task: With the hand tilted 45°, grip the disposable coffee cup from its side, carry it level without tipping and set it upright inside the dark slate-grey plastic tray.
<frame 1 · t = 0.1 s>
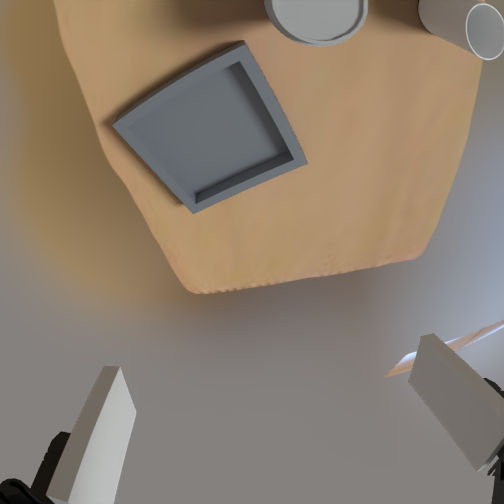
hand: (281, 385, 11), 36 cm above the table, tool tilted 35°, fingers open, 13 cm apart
slate tray: (213, 130, 40), on the table
mug: (448, 16, 24), on the table
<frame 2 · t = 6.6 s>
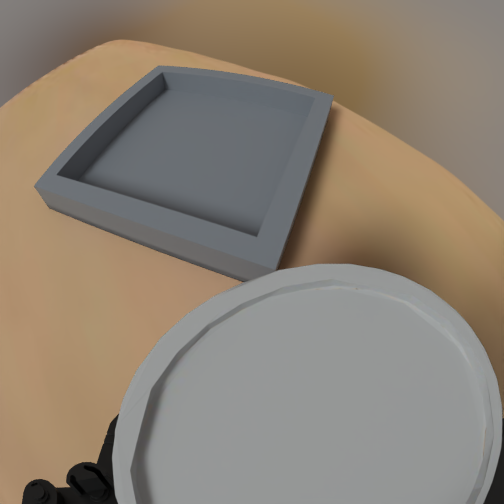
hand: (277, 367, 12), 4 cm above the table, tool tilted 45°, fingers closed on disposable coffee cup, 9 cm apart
disposable coffee cup: (273, 429, 15), on the table, touching gripper
slate tray: (195, 150, 25), on the table
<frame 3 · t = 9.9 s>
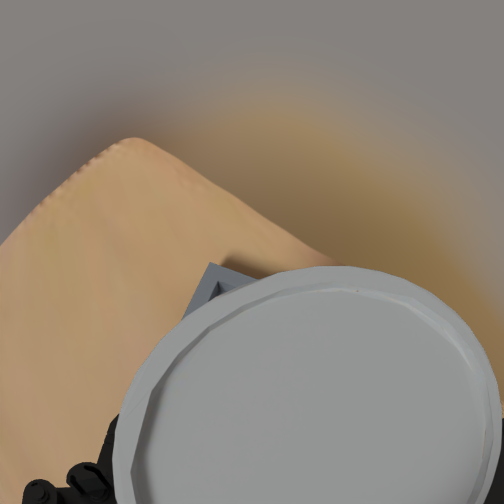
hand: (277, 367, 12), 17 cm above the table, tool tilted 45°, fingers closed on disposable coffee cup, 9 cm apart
disposable coffee cup: (273, 430, 15), point 13 cm above the table, touching gripper
slate tray: (265, 391, 27), on the table
when the fingers open (6 cm above the table, at t = 13.1 s): disposable coffee cup moves 4 cm, point 2 cm above the table.
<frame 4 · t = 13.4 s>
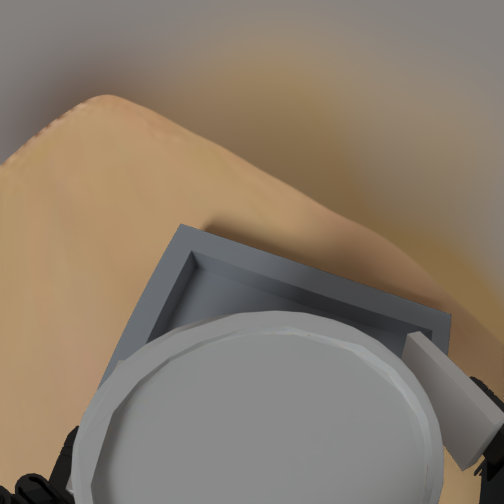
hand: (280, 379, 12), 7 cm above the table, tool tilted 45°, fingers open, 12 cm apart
disposable coffee cup: (218, 456, 14), point 2 cm above the table, touching gripper
slate tray: (269, 425, 16), on the table
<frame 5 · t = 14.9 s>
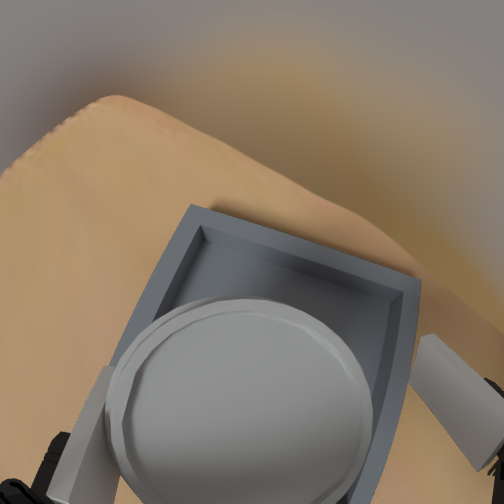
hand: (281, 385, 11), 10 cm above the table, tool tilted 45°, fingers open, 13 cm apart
disposable coffee cup: (212, 402, 18), point 1 cm above the table, touching gripper, slate tray
slate tray: (265, 372, 21), on the table
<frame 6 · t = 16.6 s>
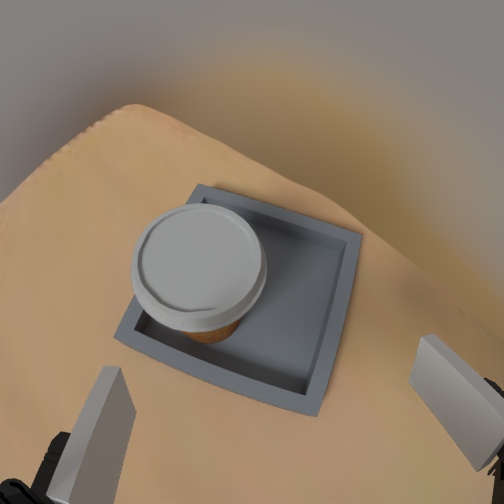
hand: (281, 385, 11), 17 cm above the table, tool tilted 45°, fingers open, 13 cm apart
disposable coffee cup: (209, 314, 30), resting on slate tray
slate tray: (247, 295, 31), on the table
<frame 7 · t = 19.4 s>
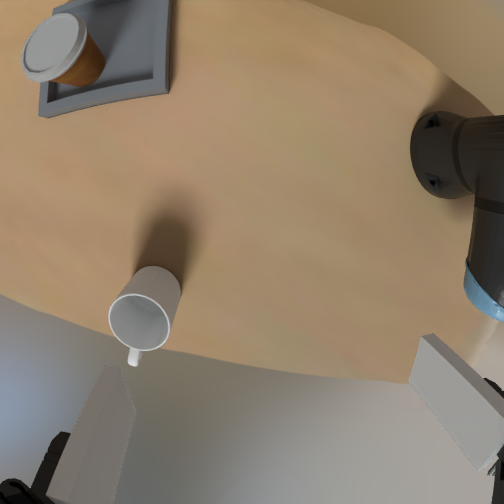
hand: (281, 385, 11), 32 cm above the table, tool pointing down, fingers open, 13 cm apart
disposable coffee cup: (87, 68, 32), resting on slate tray
slate tray: (106, 45, 32), on the table
mug: (152, 301, 44), on the table
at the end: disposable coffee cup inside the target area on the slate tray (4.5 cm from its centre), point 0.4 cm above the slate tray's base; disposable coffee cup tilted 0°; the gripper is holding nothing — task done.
